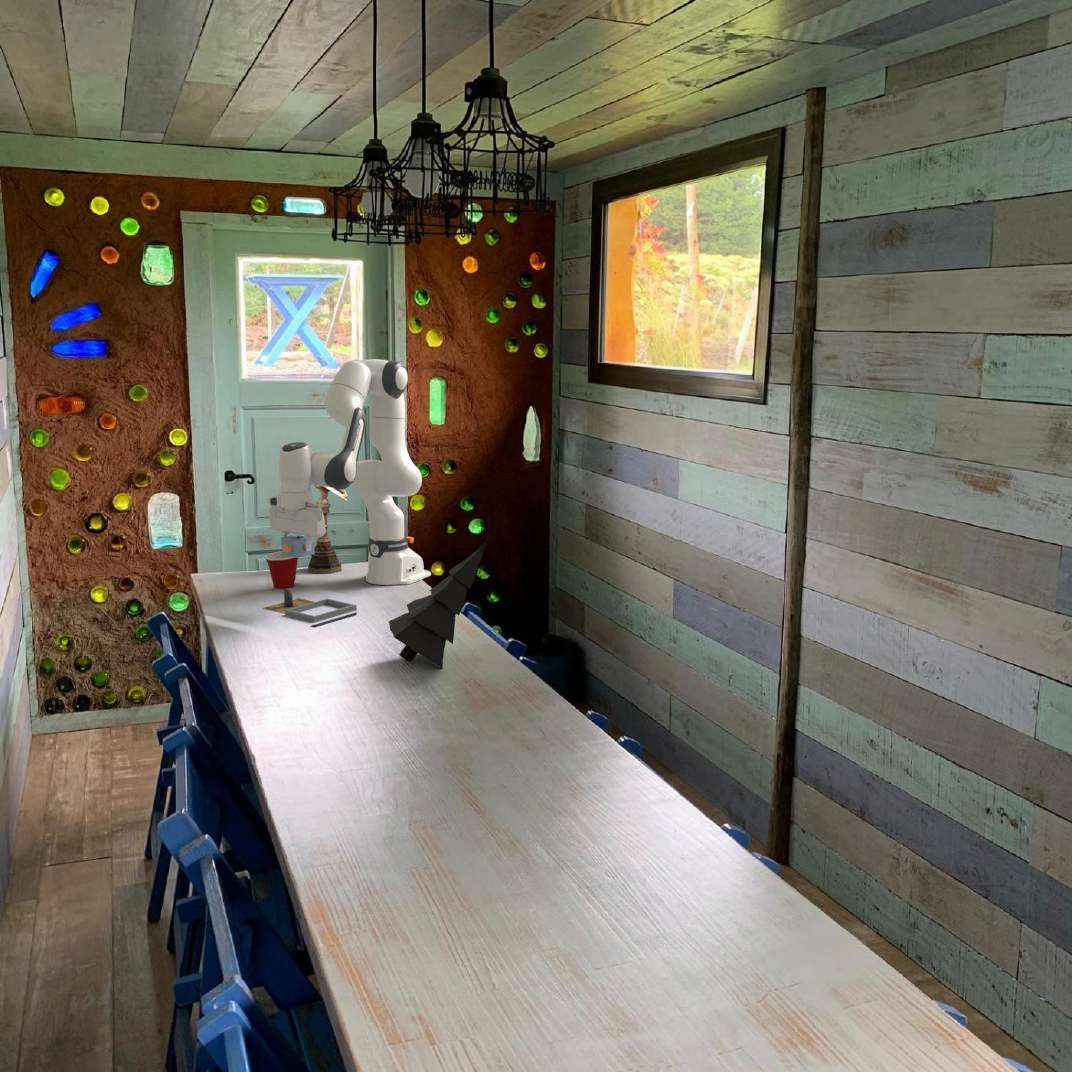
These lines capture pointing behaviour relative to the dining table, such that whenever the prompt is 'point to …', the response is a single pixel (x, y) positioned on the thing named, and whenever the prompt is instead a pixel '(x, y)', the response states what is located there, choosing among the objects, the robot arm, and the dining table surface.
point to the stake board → (281, 606)
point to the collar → (295, 546)
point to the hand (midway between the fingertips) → (298, 548)
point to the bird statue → (325, 539)
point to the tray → (344, 609)
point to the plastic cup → (282, 569)
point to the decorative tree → (435, 614)
